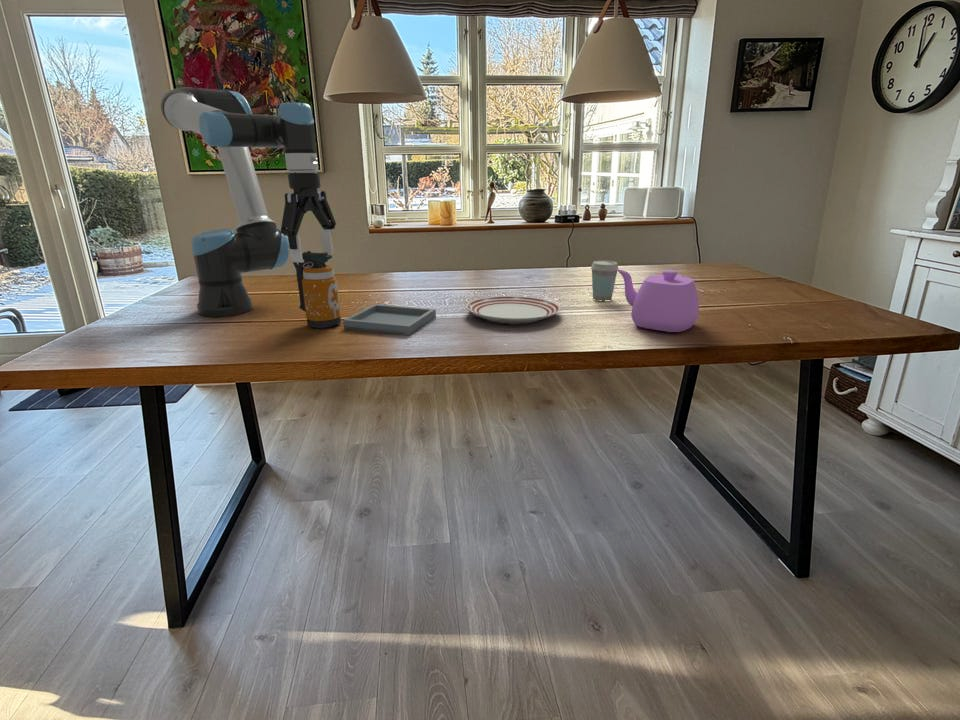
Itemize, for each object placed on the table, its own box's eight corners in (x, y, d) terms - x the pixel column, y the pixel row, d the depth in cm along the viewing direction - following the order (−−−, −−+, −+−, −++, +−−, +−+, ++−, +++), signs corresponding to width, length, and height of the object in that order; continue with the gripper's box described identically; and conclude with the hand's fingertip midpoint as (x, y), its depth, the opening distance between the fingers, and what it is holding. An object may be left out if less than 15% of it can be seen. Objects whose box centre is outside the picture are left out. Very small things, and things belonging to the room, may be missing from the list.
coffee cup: (614, 303, 163) (617, 265, 159) (586, 301, 166) (589, 264, 162) (616, 297, 171) (620, 261, 167) (590, 295, 173) (593, 259, 169)
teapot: (706, 320, 147) (714, 266, 141) (685, 339, 130) (694, 280, 125) (627, 308, 159) (632, 258, 153) (600, 324, 143) (604, 270, 137)
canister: (332, 330, 139) (323, 254, 132) (294, 328, 141) (283, 253, 134) (346, 321, 147) (339, 249, 140) (310, 318, 149) (301, 248, 142)
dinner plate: (490, 300, 169) (490, 290, 168) (571, 309, 158) (572, 299, 157) (448, 322, 146) (448, 310, 145) (540, 335, 135) (541, 323, 134)
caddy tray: (343, 328, 140) (343, 319, 139) (375, 312, 155) (375, 304, 154) (409, 335, 134) (409, 326, 133) (435, 317, 150) (435, 309, 149)
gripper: (283, 172, 117) (296, 266, 125) (343, 171, 140) (351, 251, 147) (256, 172, 120) (270, 265, 127) (319, 171, 142) (328, 250, 149)
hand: (313, 257), depth 137 cm, fingers open, 13 cm apart
